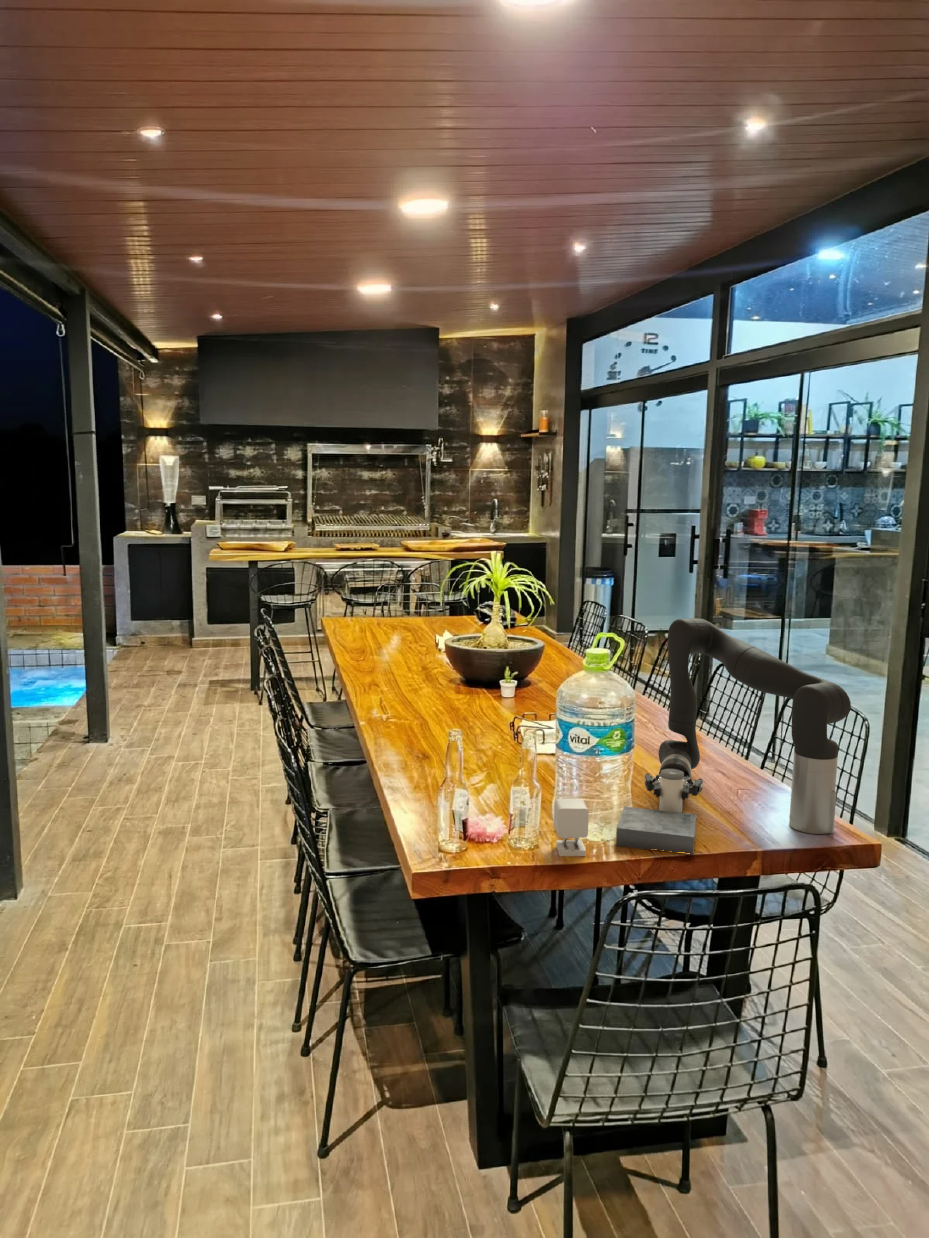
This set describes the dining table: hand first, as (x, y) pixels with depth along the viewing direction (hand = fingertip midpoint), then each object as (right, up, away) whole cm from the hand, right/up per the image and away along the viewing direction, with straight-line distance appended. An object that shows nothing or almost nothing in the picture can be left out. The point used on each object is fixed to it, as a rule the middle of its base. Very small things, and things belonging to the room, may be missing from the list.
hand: (670, 794), depth 211 cm
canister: (+1, -6, +3) cm, 7 cm away
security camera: (-25, -9, -16) cm, 31 cm away
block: (-5, -8, -9) cm, 13 cm away
